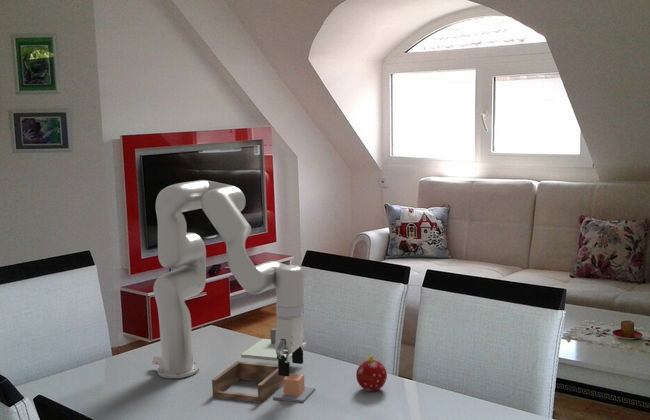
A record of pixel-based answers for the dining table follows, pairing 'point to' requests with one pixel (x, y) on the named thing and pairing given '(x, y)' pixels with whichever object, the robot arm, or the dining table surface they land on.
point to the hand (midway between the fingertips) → (291, 369)
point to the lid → (265, 349)
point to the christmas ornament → (371, 375)
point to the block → (293, 384)
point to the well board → (248, 372)
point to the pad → (302, 397)
